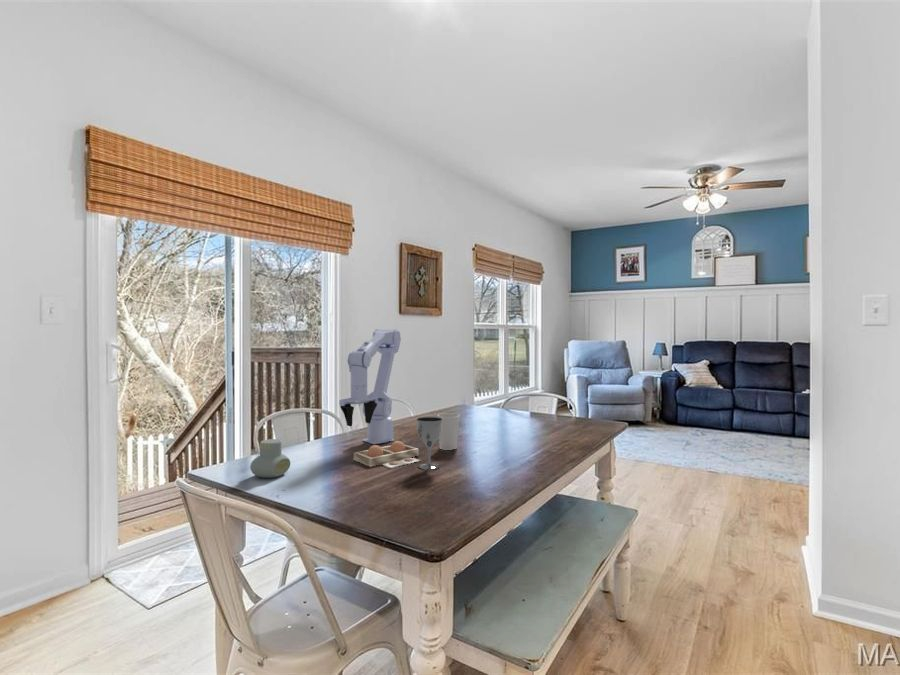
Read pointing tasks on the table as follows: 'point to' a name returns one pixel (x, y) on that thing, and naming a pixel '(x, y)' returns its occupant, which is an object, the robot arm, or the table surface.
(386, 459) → the rack
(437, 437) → the wine glass
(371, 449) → the loose ball
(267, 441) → the air freshener
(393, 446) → the ball
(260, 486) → the table surface
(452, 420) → the cup
